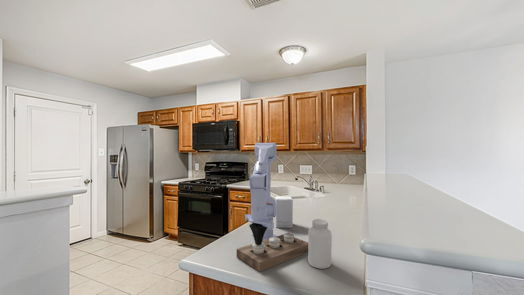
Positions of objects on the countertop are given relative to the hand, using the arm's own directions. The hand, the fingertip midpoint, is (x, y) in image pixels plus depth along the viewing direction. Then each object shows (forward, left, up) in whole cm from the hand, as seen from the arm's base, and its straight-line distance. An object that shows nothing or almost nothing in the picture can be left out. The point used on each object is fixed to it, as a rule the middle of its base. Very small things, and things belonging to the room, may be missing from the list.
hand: (258, 243), depth 84 cm
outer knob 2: (0, +16, -3) cm, 16 cm away
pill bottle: (+16, +15, -6) cm, 23 cm away
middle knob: (0, +8, -3) cm, 9 cm away
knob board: (0, +8, -6) cm, 10 cm away
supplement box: (-23, +36, -6) cm, 43 cm away
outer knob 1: (0, 0, -4) cm, 4 cm away
